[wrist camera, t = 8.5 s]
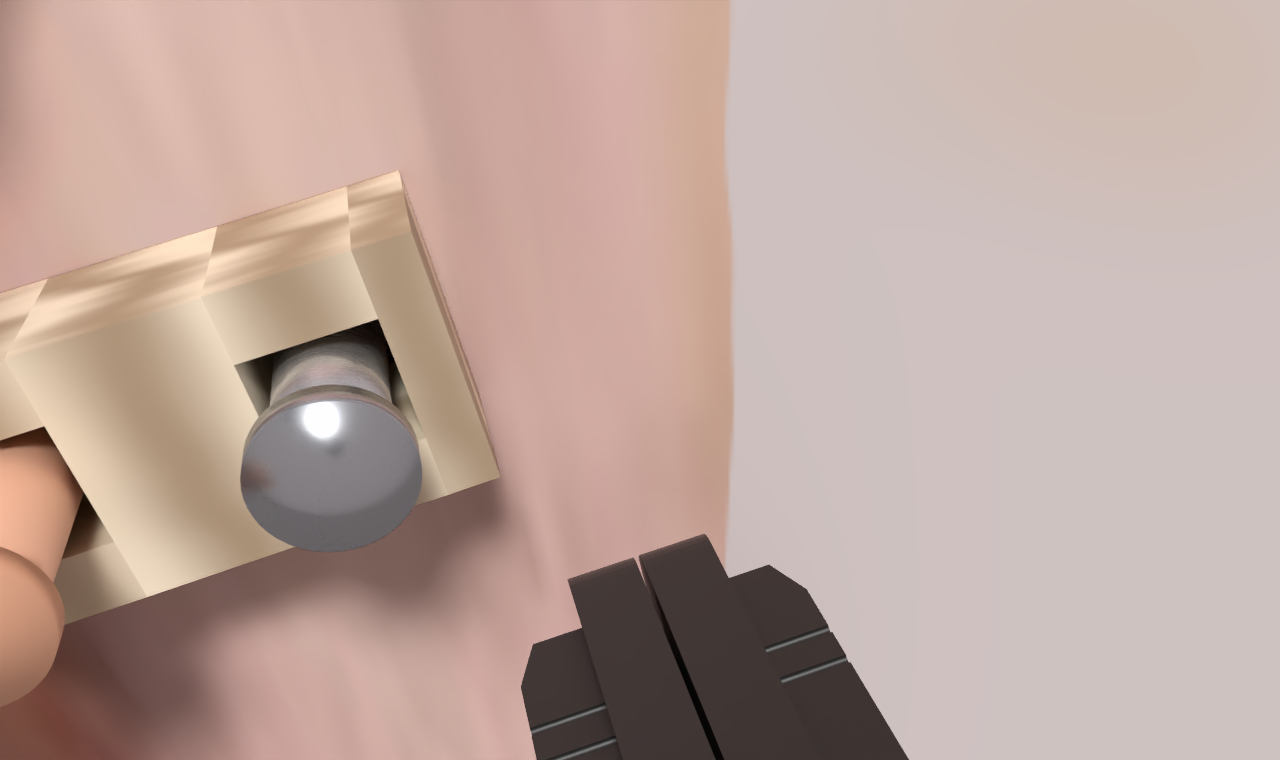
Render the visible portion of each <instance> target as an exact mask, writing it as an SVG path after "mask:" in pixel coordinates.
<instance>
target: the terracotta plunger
mask: <svg viewBox="0 0 1280 760" xmlns="http://www.w3.org/2000/svg"><path fill="white" fill-rule="evenodd" d="M83 493H84V491H83V489H82V488H81V486H80V485H79V483H78V481H77V480H76V478H75V476H74V475H73V473H72V471H71V470H70V468H69V466H68V465H67V463H66V461H65V460H64V458H63V456H62V455H61V453H60V451H59V450H58V448H57V446H56V445H55V443H54V441H53V440H52V438H51V436H50V435H49V433H48V431H47V430H46V428H45V426H44V427H40V428H37V429H34V430H31V431H28V432H25V433H22V434H19V435H16V436H12V437H9V438H6V439H3V440H0V707H2V706H4V705H7V704H9V703H12V702H14V701H16V700H17V699H19V698H21V697H23V696H24V695H26V694H27V693H29V692H30V691H32V690H33V689H34V688H35V687H36V686H37V685H38V684H39V683H40V682H41V681H42V680H43V679H44V677H45V676H46V675H47V673H48V672H49V670H50V668H51V667H52V664H53V662H54V659H55V657H56V653H57V650H58V647H59V643H60V640H61V637H62V633H63V629H64V624H65V612H64V606H63V602H62V599H61V596H60V594H59V592H58V590H57V588H56V587H55V585H54V584H53V583H54V580H55V577H56V574H57V571H58V568H59V565H60V562H61V559H62V556H63V553H64V550H65V547H66V544H67V541H68V538H69V535H70V532H71V529H72V526H73V523H74V520H75V517H76V514H77V511H78V508H79V505H80V502H81V499H82V496H83Z"/></svg>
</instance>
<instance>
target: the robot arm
mask: <svg viewBox="0 0 1280 760" xmlns="http://www.w3.org/2000/svg"><path fill="white" fill-rule="evenodd" d="M639 561H640V565H641V569H642V573H643V577H644V580H643V578H642V576H641V573H640V571H639V568H638V566H637V563H636V561H635V559H634V558H631V559H628V560H625V561H622V562H618V563H615V564H612V565H609V566H606V567H603V568H600V569H597V570H594V571H591V572H588V573H585V574H582V575H579V576H576V577H573V578H570V579H568V582H569V586H570V589H571V592H572V595H573V599H574V602H575V605H576V608H577V612H578V615H579V618H580V621H581V625H582V628H580V629H577V630H574V631H572V632H569V633H566V634H563V635H560V636H557V637H554V638H551V639H548V640H545V641H542V642H539V643H536V644H533V646H532V650H531V653H530V657H529V660H528V664H527V667H526V671H525V674H524V678H523V681H522V685H521V690H522V694H523V699H524V703H525V708H526V712H527V717H528V722H529V726H530V730H531V733H532V740H533V744H534V749H535V753H536V758H537V760H909V759H908V758H907V756H906V754H905V753H904V751H903V749H902V748H901V746H900V745H899V743H898V741H897V739H896V738H895V736H894V734H893V733H892V731H891V729H890V728H889V726H888V724H887V723H886V721H885V719H884V718H883V716H882V714H881V713H880V711H879V709H878V708H877V706H876V704H875V703H874V701H873V699H872V698H871V696H870V695H869V693H868V691H867V689H866V688H865V686H864V684H863V683H862V681H861V679H860V678H859V676H858V674H857V673H856V671H855V669H854V668H853V666H852V664H851V663H849V662H848V660H847V658H846V654H845V653H844V651H843V649H842V648H841V646H840V644H839V643H838V641H837V639H836V638H835V636H834V634H833V633H832V632H830V630H829V627H828V624H827V623H826V621H825V619H824V618H823V616H822V614H821V613H820V612H819V609H818V608H817V606H816V604H815V603H814V601H813V599H812V598H811V596H810V594H809V593H808V591H807V589H805V588H803V587H802V586H801V585H799V584H798V583H796V582H795V581H793V580H792V579H790V578H788V577H787V576H785V575H784V574H782V573H781V572H779V571H778V570H776V569H775V568H773V567H772V566H770V565H767V566H764V567H761V568H758V569H755V570H752V571H749V572H746V573H743V574H740V575H737V576H734V577H731V578H728V576H727V574H726V572H725V570H724V568H723V566H722V564H721V562H720V560H719V558H718V556H717V554H716V552H715V550H714V548H713V546H712V544H711V542H710V541H709V539H708V537H707V536H706V535H705V534H702V535H699V536H696V537H693V538H690V539H687V540H684V541H681V542H678V543H675V544H672V545H669V546H666V547H663V548H660V549H657V550H654V551H651V552H648V553H645V554H642V555H639ZM644 581H645V583H644ZM645 584H646V585H645Z"/></svg>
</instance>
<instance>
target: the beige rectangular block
mask: <svg viewBox="0 0 1280 760" xmlns="http://www.w3.org/2000/svg"><path fill="white" fill-rule="evenodd" d="M376 319H379V322H380V324H381V327H382V329H383V332H384V335H385V337H386V340H387V342H388V345H389V347H390V350H391V352H392V355H393V357H394V360H395V362H393V363H390V364H388V371H389V380H390V388H391V397H392V404H393V405H394V406H396V407H397V408H398V409H399V410H400V411H401V412H402V413H403V414H404V415H405V417H406V418H407V420H408V421H409V422H410V424H411V426H412V428H413V430H414V432H415V434H416V437H417V441H418V445H419V452H420V459H421V465H422V484H421V489H420V493H419V496H418V499H417V501H416V503H415V505H414V506H417V505H420V504H423V503H426V502H429V501H432V500H435V499H437V498H440V497H443V496H446V495H449V494H452V493H455V492H458V491H461V490H464V489H467V488H470V487H473V486H476V485H479V484H482V483H485V482H488V481H490V480H493V479H496V478H499V477H501V476H500V472H499V468H498V465H497V461H496V457H495V453H494V449H493V445H492V442H491V438H490V434H489V430H488V426H487V422H486V418H485V415H484V411H483V407H482V403H481V399H480V395H479V392H478V389H477V386H476V384H475V381H474V378H473V375H472V372H471V370H470V367H469V364H468V361H467V358H466V356H465V353H464V350H463V347H462V345H461V342H460V339H459V336H458V333H457V331H456V328H455V325H454V322H453V320H452V317H451V314H450V311H449V308H448V306H447V303H446V300H445V297H444V295H443V292H442V289H441V286H440V283H439V281H438V278H437V275H436V272H435V269H434V267H433V264H432V261H431V258H430V256H429V253H428V250H427V247H426V244H425V242H424V239H423V236H422V233H421V231H420V228H419V225H418V222H417V219H416V217H415V214H414V211H413V208H412V206H411V203H410V200H409V197H408V194H407V192H406V189H405V186H404V183H403V180H402V178H401V175H400V172H399V170H398V171H395V172H392V173H389V174H385V175H382V176H379V177H376V178H372V179H369V180H366V181H363V182H359V183H356V184H353V185H350V186H346V187H343V188H340V189H337V190H334V191H330V192H327V193H324V194H321V195H317V196H314V197H311V198H308V199H304V200H301V201H298V202H295V203H291V204H288V205H285V206H282V207H278V208H275V209H272V210H269V211H265V212H262V213H259V214H256V215H253V216H249V217H246V218H243V219H240V220H236V221H233V222H230V223H227V224H223V225H220V226H217V227H214V228H210V229H207V230H204V231H201V232H197V233H194V234H191V235H188V236H184V237H181V238H178V239H175V240H171V241H168V242H165V243H162V244H159V245H155V246H152V247H149V248H146V249H142V250H139V251H136V252H133V253H129V254H126V255H123V256H120V257H116V258H113V259H110V260H107V261H103V262H100V263H97V264H94V265H90V266H87V267H84V268H81V269H77V270H74V271H71V272H68V273H65V274H61V275H58V276H55V277H52V278H48V279H45V280H42V281H39V282H35V283H32V284H29V285H26V286H22V287H19V288H16V289H13V290H9V291H6V292H3V293H0V440H3V439H6V438H9V437H12V436H16V435H19V434H22V433H25V432H28V431H31V430H34V429H37V428H40V427H44V426H45V428H46V430H47V431H48V433H49V435H50V436H51V438H52V440H53V441H54V443H55V445H56V446H57V448H58V450H59V451H60V453H61V455H62V456H63V458H64V460H65V461H66V463H67V465H68V466H69V468H70V470H71V471H72V473H73V475H74V476H75V478H76V480H77V481H78V483H79V485H80V486H81V488H82V489H83V491H84V493H83V496H82V499H81V502H80V505H79V508H78V511H77V514H76V517H75V520H74V523H73V526H72V529H71V532H70V535H69V538H68V541H67V544H66V547H65V550H64V553H63V556H62V559H61V562H60V565H59V568H58V571H57V574H56V577H55V580H54V583H53V584H54V585H55V587H56V588H57V590H58V592H59V594H60V596H61V599H62V602H63V606H64V612H65V624H64V625H66V624H69V623H72V622H75V621H78V620H81V619H84V618H87V617H90V616H93V615H96V614H99V613H102V612H105V611H108V610H111V609H114V608H116V607H119V606H122V605H125V604H128V603H131V602H134V601H137V600H140V599H143V598H146V597H149V596H152V595H155V594H158V593H161V592H164V591H167V590H169V589H172V588H175V587H178V586H181V585H184V584H187V583H190V582H193V581H196V580H199V579H202V578H205V577H208V576H211V575H214V574H217V573H220V572H222V571H225V570H228V569H231V568H234V567H237V566H240V565H243V564H246V563H249V562H252V561H255V560H258V559H261V558H264V557H267V556H270V555H273V554H275V553H278V552H281V551H284V550H287V549H290V548H293V547H295V546H292V545H289V544H287V543H285V542H283V541H281V540H279V539H277V538H275V537H274V536H272V535H271V534H269V533H268V532H267V531H266V530H264V529H263V528H262V527H261V526H260V525H259V524H258V523H257V522H256V520H255V519H254V518H253V517H252V515H251V513H250V512H249V510H248V509H247V506H246V504H245V502H244V499H243V496H242V492H241V484H240V474H241V464H242V456H243V449H244V445H245V440H246V438H247V436H248V433H249V431H250V429H251V428H252V426H253V424H254V423H255V421H256V420H257V419H258V418H259V416H260V415H261V414H262V413H263V412H264V411H265V410H266V409H267V408H268V407H269V406H270V396H271V384H272V371H273V359H274V352H277V351H280V350H283V349H286V348H289V347H292V346H295V345H299V344H302V343H305V342H308V341H311V340H314V339H317V338H320V337H323V336H327V335H330V334H333V333H336V332H339V331H342V330H345V329H348V328H351V327H355V326H358V325H361V324H364V323H367V322H370V321H373V320H376Z"/></svg>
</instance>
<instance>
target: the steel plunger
mask: <svg viewBox="0 0 1280 760" xmlns="http://www.w3.org/2000/svg"><path fill="white" fill-rule="evenodd" d="M240 484H241V492H242V496H243V499H244V502H245V504H246V506H247V509H248V510H249V512H250V513H251V515H252V517H253V518H254V519H255V520H256V522H257V523H258V524H259V525H260V526H261V527H262V528H263V529H264V530H266V531H267V532H268V533H269V534H271V535H272V536H274V537H275V538H277V539H279V540H281V541H283V542H285V543H287V544H289V545H292V546H295V547H298V548H302V549H305V550H311V551H318V552H337V551H346V550H351V549H355V548H359V547H363V546H365V545H368V544H370V543H373V542H375V541H377V540H379V539H381V538H383V537H384V536H386V535H387V534H389V533H390V532H391V531H393V530H394V529H395V528H396V527H397V526H399V525H400V524H401V523H402V522H403V520H404V519H405V518H406V517H407V516H408V514H409V513H410V512H411V510H412V509H413V507H414V505H415V503H416V501H417V499H418V496H419V493H420V489H421V484H422V465H421V459H420V452H419V445H418V441H417V437H416V434H415V432H414V430H413V428H412V426H411V424H410V422H409V421H408V420H407V418H406V417H405V415H404V414H403V413H402V412H401V411H400V410H399V409H398V408H397V407H396V406H394V405H393V404H392V397H391V388H390V380H389V371H388V362H387V354H386V345H385V337H384V332H383V329H382V327H381V324H380V322H379V319H376V320H373V321H370V322H367V323H364V324H361V325H358V326H355V327H351V328H348V329H345V330H342V331H339V332H336V333H333V334H330V335H327V336H323V337H320V338H317V339H314V340H311V341H308V342H305V343H302V344H299V345H295V346H292V347H289V348H286V349H283V350H280V351H277V352H274V359H273V371H272V384H271V396H270V406H269V407H268V408H267V409H266V410H265V411H264V412H263V413H262V414H261V415H260V416H259V418H258V419H257V420H256V421H255V423H254V424H253V426H252V428H251V429H250V431H249V433H248V436H247V438H246V440H245V445H244V449H243V456H242V464H241V474H240Z"/></svg>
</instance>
